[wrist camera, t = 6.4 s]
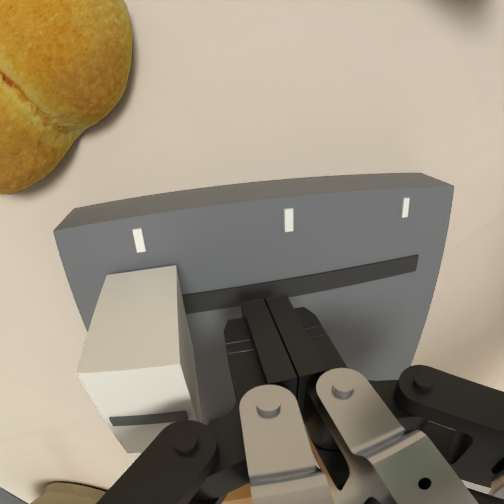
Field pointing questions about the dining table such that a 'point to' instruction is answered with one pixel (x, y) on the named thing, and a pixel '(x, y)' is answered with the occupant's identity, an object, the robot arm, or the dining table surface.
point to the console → (278, 261)
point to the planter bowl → (69, 494)
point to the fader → (140, 357)
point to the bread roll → (56, 79)
